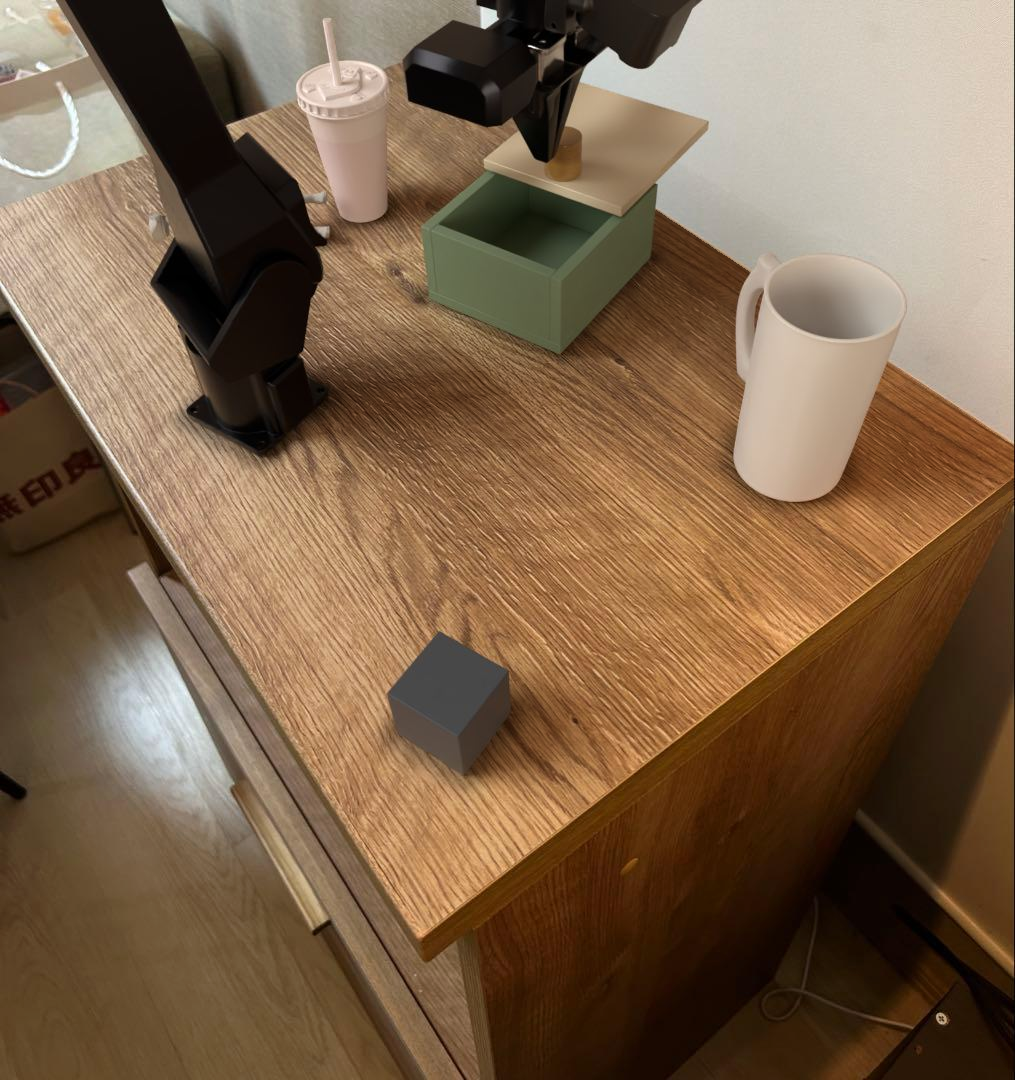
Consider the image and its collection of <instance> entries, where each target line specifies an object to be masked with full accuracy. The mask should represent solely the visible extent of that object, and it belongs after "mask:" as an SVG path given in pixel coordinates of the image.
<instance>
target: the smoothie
mask: <svg viewBox="0 0 1015 1080" xmlns="http://www.w3.org/2000/svg"><path fill="white" fill-rule="evenodd" d="M322 26H323V31H324V38H325V42H326V48H327V54H328V59H329V62H327V63H324V64H320V65H317V66H315V67H313V68H311V69H310V70H308V71H306V72H305V73H304V74H303V75H301V77H300V78H299V79H298V80H297V82H296V85H295V91H296V95H297V104H298V106H299V108H300V109H301V111H302V112H303V113H305V114H306V119H307V121H308V124H309V127H310V130H311V133H312V136H313V138H314V143H315V145H316V147H317V150H318V153H319V156H320V160H321V162H322V165H323V168H324V172H325V175H326V178H327V181H328V184H329V186H330V189H331V192H332V193H331V194H332V196H333V198H334V201H335V204H336V208H337V210H338V214H339V215H340V217H341V218H342V219H344V220H346V221H348V222H351V223H357V224H358V223H369V222H373V221H375V220H377V219H379V218H381V217H382V216H383V215H385V214H386V212H387V211H388V208H389V207H388V206H389V202H388V197H389V195H388V109H387V108H388V107H387V105H388V104H387V103H388V101H389V100H390V99H391V94H392V89H391V87H390V79H389V76H388V74H387V72H386V71H385V70H384V69H383V68H381V67H380V66H378V65H376V64H373V63H371V62H367V61H362V60H352V59H351V60H350V59H349V60H347V59H346V60H339V57H338V52H337V46H336V40H335V35H334V28H333V21H332V18H330V17H325V18H323V19H322Z"/></svg>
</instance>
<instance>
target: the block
mask: <svg viewBox="0 0 1015 1080" xmlns="http://www.w3.org/2000/svg"><path fill="white" fill-rule="evenodd" d="M386 696H387V700H388V703H389V707H390V711H391V716H392V719H393V722H394V727H395V730H396V733H397V735H399V736H400V737H401V738H404V740H407V741H408V742H410V743H411V744H413V745H415V746H416V747H417V748H419V749H421V750H423V751H424V752H425V753H427V754H428V755H430V756H432V757H433V758H435V759H436V760H438V761H440V762H441V763H442V764H444V765H446V766H447V767H449V768H450V769H452V770H454V771H456V773H459V774H460V775H461V776H465V775H466V774H467V773H468V771H469V770H470V768H471V767H472V766H473V765H474V763H475V762H476V761H477V759H478V758H479V756H480V755H481V754H482V752H483V751H484V750H485V748H486V747H487V746H488V744H489V743H490V741H492V739H493V737H494V736H495V735H496V734H497V732H498V731H499V729H500V728H501V727H502V725H503V724H504V723H505V722H506V720H507V719H508V717H510V714H511V713H512V703H511V702H512V701H511V684H510V671H509V670H508V669H507V668H505V667H503V666H501V665H499V664H497V663H496V662H495V661H492V660H491V659H489V658H488V657H485V656H484V655H482V654H481V653H478V652H477V651H475V650H474V649H471V648H470V647H468V646H466V645H465V644H464V643H461V642H459V641H458V640H455V639H454V638H452V637H451V636H449V635H448V634H445V633H444V632H442V631H440V630H439V631H437V633H436V634H435V635H434V636H433V638H432V639H431V640H430V641H429V642H428V644H426V645H425V647H424V648H423V649H422V650H421V652H420V653H419V654H418V655H417V656H416V658H415V659H414V660H413V661H412V663H410V664H409V666H408V667H407V668H406V670H405V671H404V672H403V673H402V675H401V676H400V677H399V678H398V679H397V681H395V683H394V684H393V685H392V686H391V688H389V690H388V691H387V692H386Z"/></svg>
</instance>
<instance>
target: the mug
mask: <svg viewBox="0 0 1015 1080" xmlns="http://www.w3.org/2000/svg"><path fill="white" fill-rule="evenodd" d="M762 293H763V294H762ZM761 294H762V298H761V302H760V306H759V311H758V317H757V322H756V325H755V315H756V308H757V303H758V300H759V298H760V296H761ZM907 310H908V301H907V297H906V293H905V292H904V290H903V289H902V287H901V285H900V284H899V283H898V282H897V280H896V279H895V278H894V277H893V276H892V275H890V274H889V273H888V272H886V271H885V270H883V269H882V268H880V267H878V266H877V265H875V264H873V263H871V262H868V261H866V260H863V259H861V258H857V257H854V256H850V255H845V254H838V253H826V252H825V253H824V252H823V253H821V252H820V253H810V254H808V253H807V254H804V255H799V256H795V257H792V258H790V259H787V260H785V261H783V262H782V261H780V259H779V258H777V256H776V255H775V254H774V253H773V252H766V253H762V254H761V255H760V256H759V257H758V259H757V263H756V265H755V266H754V268H753V269H752V270H751V272H750V273H749V274H748V276H747V277H746V279H745V281H744V283H743V284H742V287H741V289H740V292H739V296H738V300H737V306H736V313H735V314H736V315H735V355H736V357H735V358H736V360H735V361H736V374H737V375H738V377H740V379H741V380H742V381H743V382H745V386H744V392H743V396H742V402H741V407H740V411H739V417H738V422H737V428H736V434H735V442H734V447H733V454H732V456H733V463H734V467H735V469H736V472H737V473H738V475H739V476H740V478H741V479H742V481H743V482H745V484H746V485H748V486H749V487H750V488H751V489H753V490H754V491H755V492H757V493H759V494H761V495H764V496H765V497H767V498H770V499H773V500H776V501H781V502H791V503H798V502H799V503H801V502H809V501H813V500H816V499H819V498H821V497H824V496H825V495H827V494H828V493H830V492H831V491H832V490H833V489H835V487H836V486H837V485H838V483H839V481H840V480H841V478H842V476H843V473H844V471H845V469H846V466H847V464H848V461H849V459H850V457H851V454H852V452H853V450H854V447H855V445H856V442H857V439H858V437H859V435H860V432H861V429H862V426H863V424H864V421H865V419H866V416H867V414H868V411H869V409H870V406H871V404H872V402H873V399H874V396H875V394H876V391H877V390H878V389H877V388H878V386H879V384H880V381H881V378H882V376H883V373H884V371H885V369H886V366H887V363H888V361H889V359H890V356H891V353H892V351H893V348H894V345H895V343H896V341H897V337H898V335H899V333H900V330H901V327H902V323H903V322H904V319H905V317H906V315H907Z"/></svg>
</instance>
